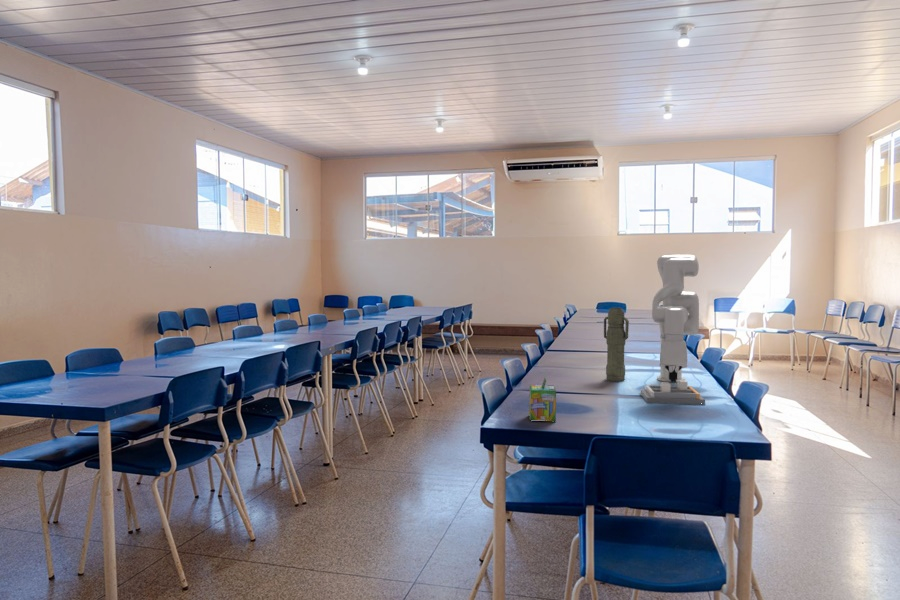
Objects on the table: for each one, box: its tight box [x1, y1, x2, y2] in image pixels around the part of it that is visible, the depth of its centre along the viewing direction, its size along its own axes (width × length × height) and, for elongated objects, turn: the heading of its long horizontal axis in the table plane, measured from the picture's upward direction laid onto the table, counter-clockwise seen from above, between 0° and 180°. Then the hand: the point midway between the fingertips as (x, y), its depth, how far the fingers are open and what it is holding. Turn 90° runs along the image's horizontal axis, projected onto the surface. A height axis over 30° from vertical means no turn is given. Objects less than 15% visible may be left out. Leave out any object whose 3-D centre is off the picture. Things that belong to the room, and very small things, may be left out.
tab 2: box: [676, 379, 689, 390], centre depth 232 cm, size 3×4×5 cm
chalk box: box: [528, 377, 557, 422], centre depth 201 cm, size 9×9×15 cm
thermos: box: [603, 306, 630, 382], centre depth 270 cm, size 9×12×35 cm
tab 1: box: [660, 381, 672, 392], centre depth 228 cm, size 3×4×5 cm
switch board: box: [640, 384, 706, 405], centre depth 230 cm, size 22×16×4 cm
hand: (673, 381), depth 234 cm, fingers closed
